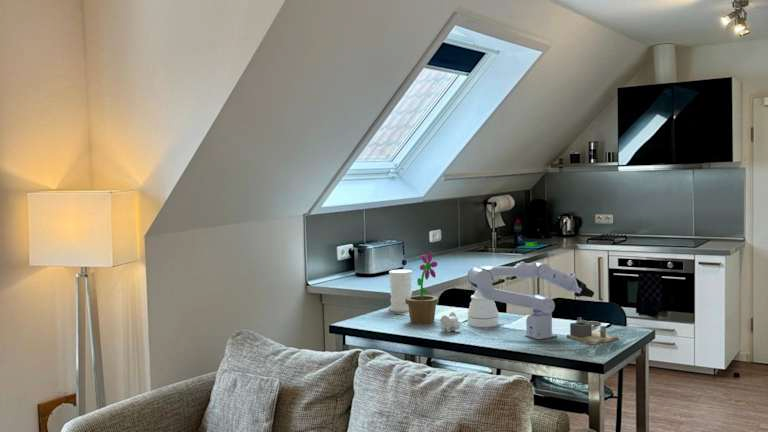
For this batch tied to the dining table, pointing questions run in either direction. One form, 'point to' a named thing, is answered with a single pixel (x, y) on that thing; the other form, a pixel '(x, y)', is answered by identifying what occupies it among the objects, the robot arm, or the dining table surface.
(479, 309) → the honey pot
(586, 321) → the caliper
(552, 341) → the dining table surface
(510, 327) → the dining table surface
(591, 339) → the post board
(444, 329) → the elephant figurine
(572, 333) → the collar
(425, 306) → the flowerpot
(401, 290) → the decorative container
